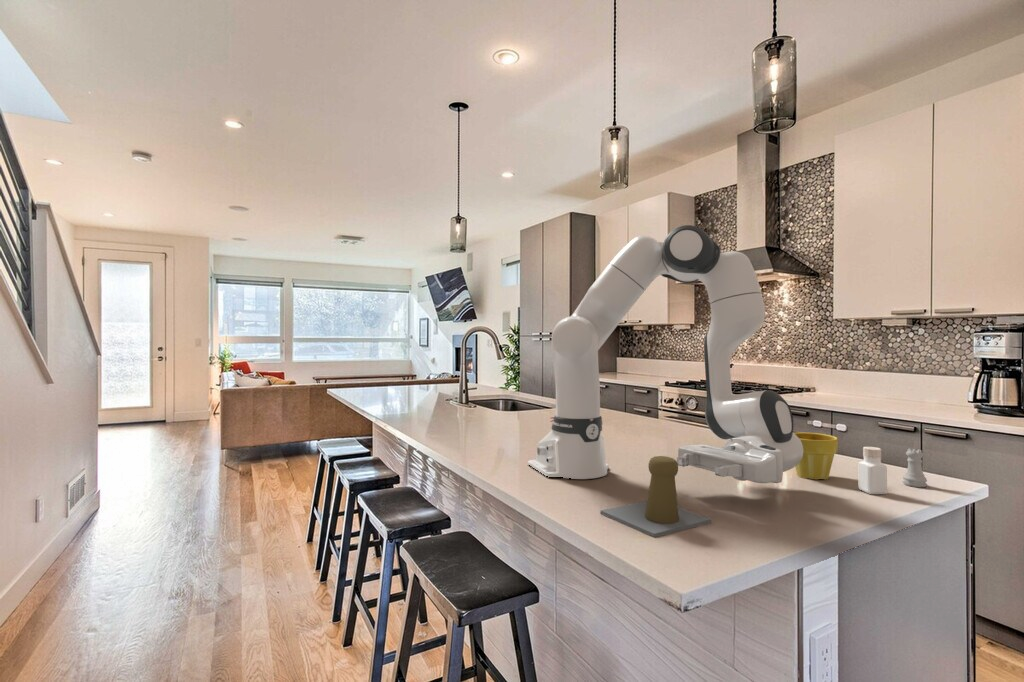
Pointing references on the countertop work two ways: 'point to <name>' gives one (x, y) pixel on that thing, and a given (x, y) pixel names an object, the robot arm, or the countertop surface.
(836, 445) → the plant pot
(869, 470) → the salt shaker
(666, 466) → the olive chess pawn
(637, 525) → the plate
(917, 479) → the rook chess piece
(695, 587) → the countertop surface
